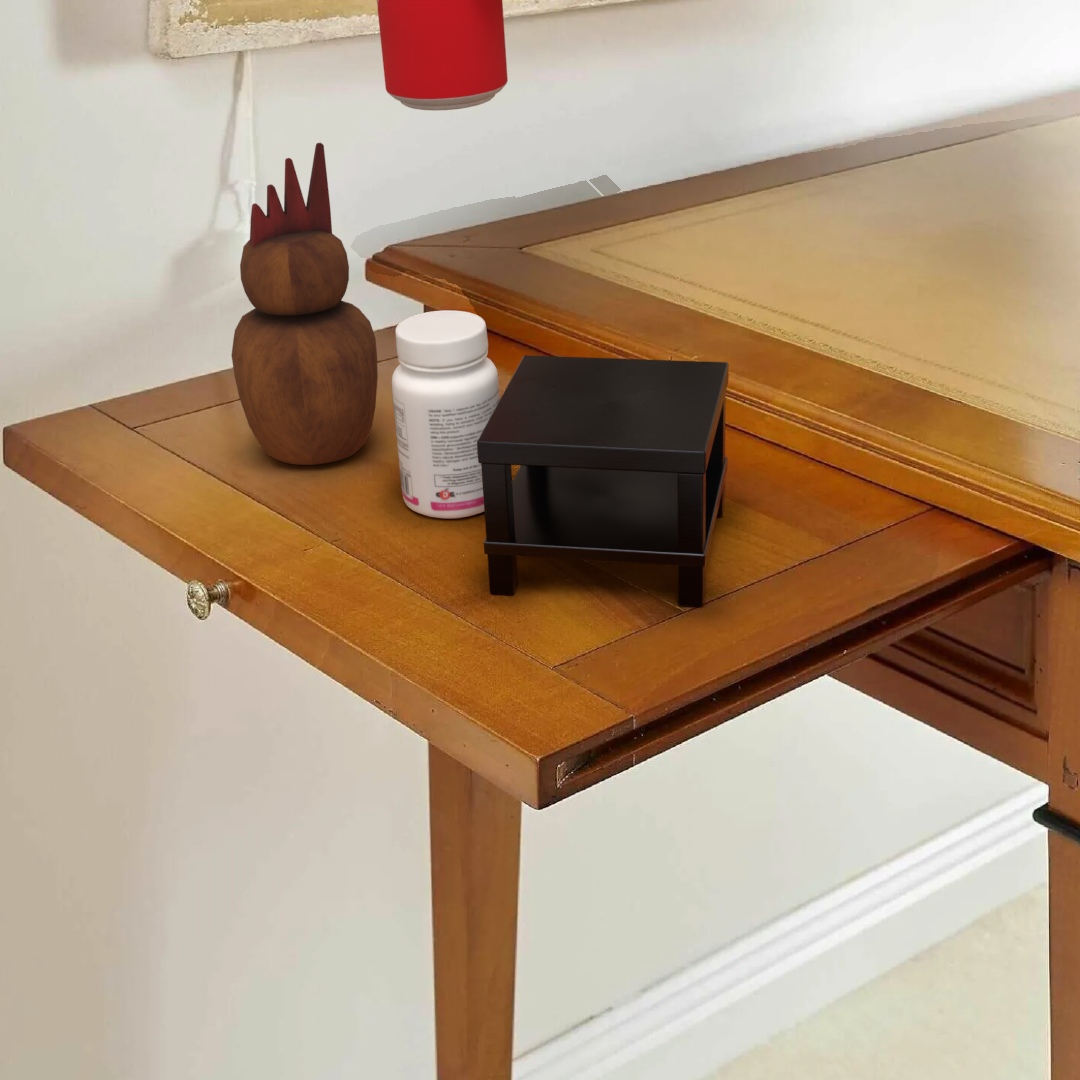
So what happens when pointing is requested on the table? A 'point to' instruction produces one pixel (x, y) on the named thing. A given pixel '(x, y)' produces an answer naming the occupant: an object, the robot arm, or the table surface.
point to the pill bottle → (442, 410)
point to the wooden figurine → (302, 331)
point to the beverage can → (443, 52)
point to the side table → (606, 465)
